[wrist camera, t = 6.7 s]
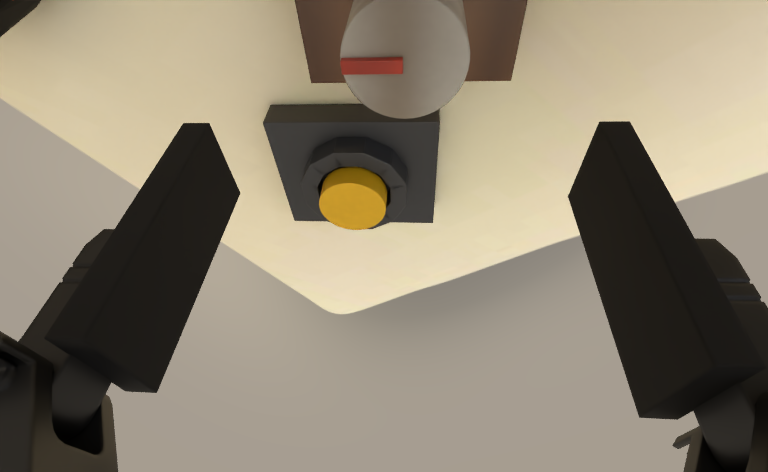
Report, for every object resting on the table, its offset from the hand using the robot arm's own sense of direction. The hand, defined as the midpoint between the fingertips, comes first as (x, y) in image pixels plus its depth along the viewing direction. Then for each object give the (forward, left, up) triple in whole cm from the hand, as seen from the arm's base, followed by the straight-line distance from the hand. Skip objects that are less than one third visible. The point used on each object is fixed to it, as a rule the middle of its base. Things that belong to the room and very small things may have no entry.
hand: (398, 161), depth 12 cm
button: (+4, +13, -12) cm, 18 cm away
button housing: (+4, +13, -16) cm, 21 cm away
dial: (0, 0, -13) cm, 13 cm away
